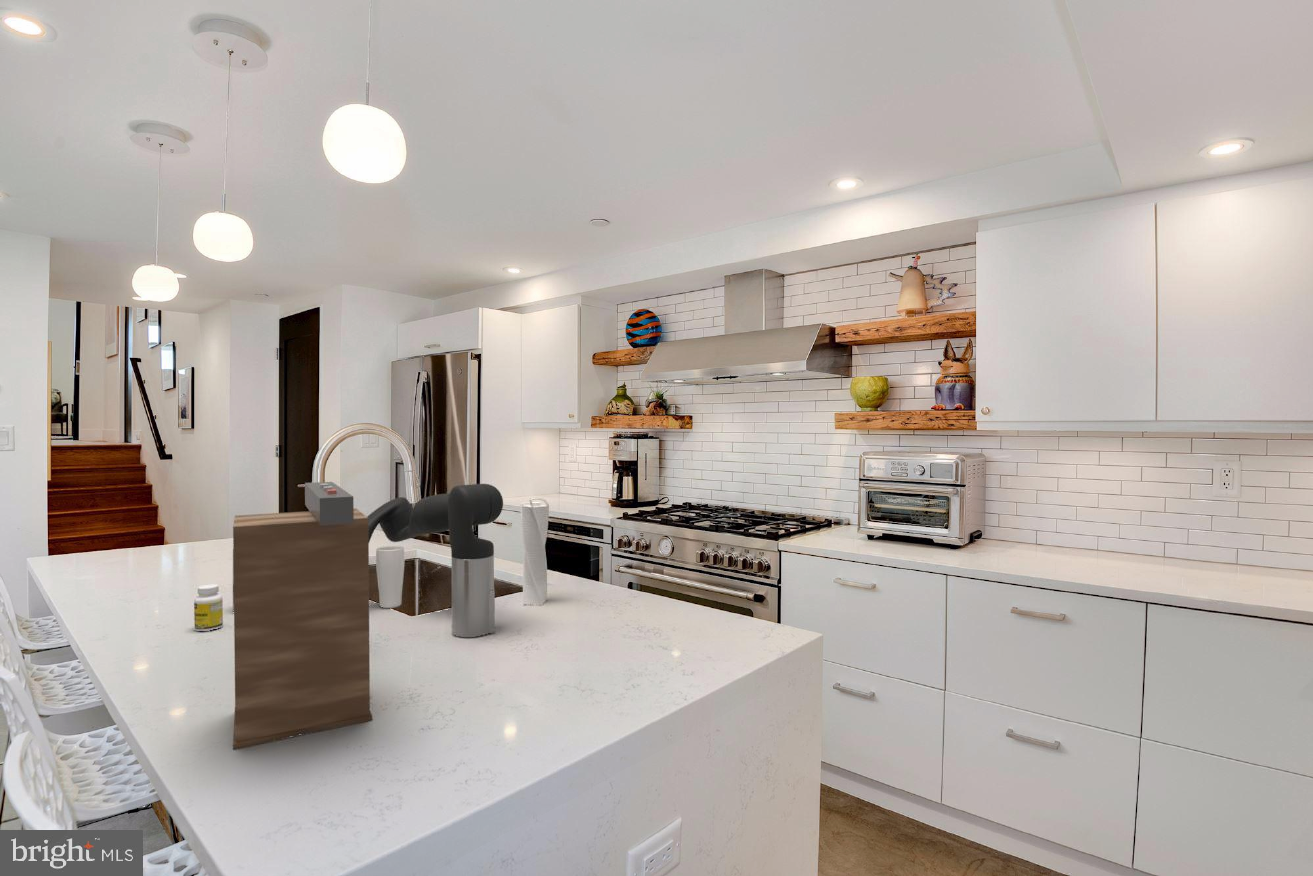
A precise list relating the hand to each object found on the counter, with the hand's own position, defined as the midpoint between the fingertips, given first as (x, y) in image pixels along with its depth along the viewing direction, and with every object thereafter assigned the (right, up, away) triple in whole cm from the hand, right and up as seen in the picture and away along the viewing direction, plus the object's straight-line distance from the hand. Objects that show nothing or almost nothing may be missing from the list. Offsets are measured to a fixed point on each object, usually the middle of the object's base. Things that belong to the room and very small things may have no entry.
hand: (317, 521), depth 129 cm
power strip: (+10, +3, -17) cm, 20 cm away
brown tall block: (+8, -29, -21) cm, 36 cm away
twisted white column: (+33, -28, +48) cm, 64 cm away
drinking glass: (-3, -28, +44) cm, 52 cm away
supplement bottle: (-37, -28, +25) cm, 53 cm away
